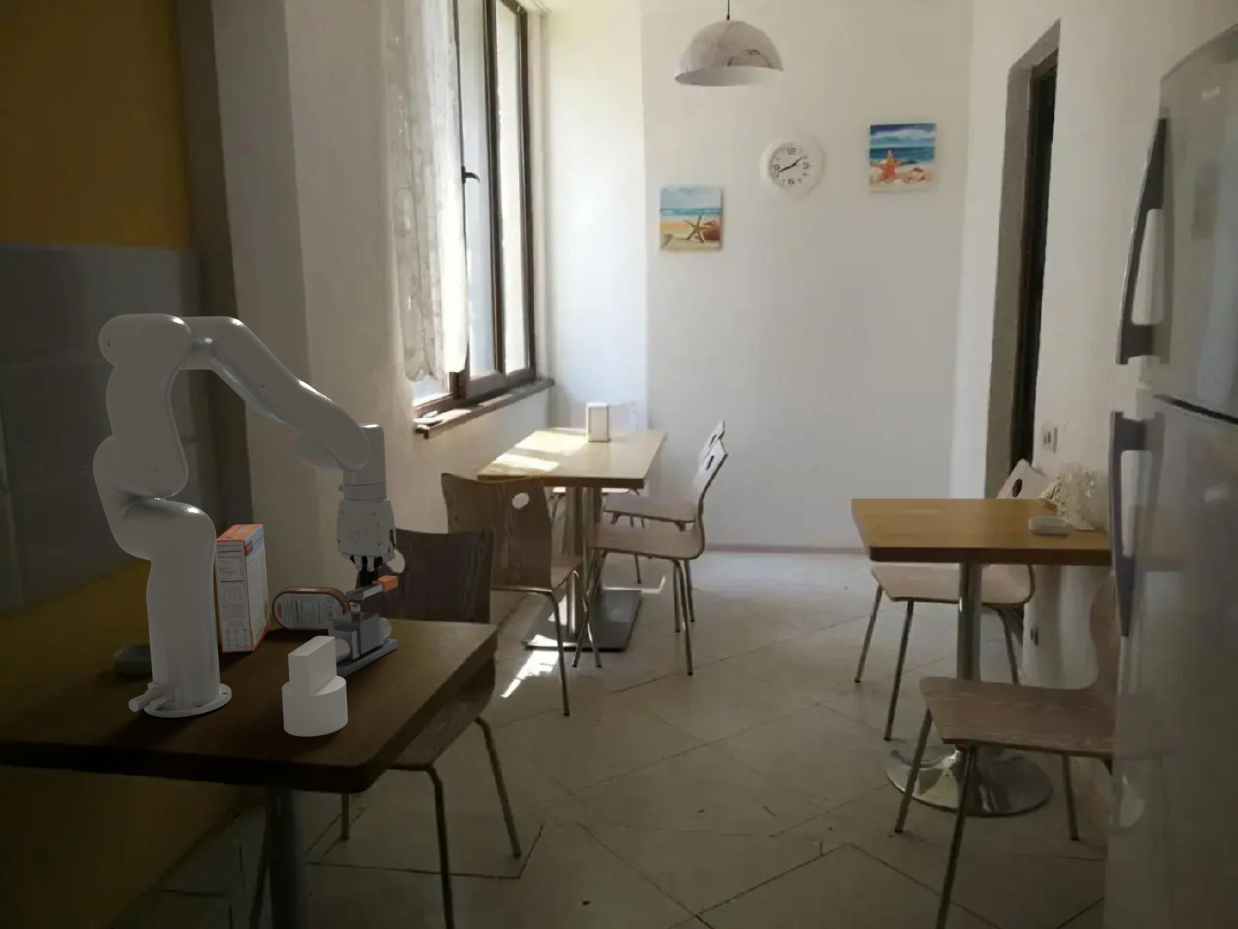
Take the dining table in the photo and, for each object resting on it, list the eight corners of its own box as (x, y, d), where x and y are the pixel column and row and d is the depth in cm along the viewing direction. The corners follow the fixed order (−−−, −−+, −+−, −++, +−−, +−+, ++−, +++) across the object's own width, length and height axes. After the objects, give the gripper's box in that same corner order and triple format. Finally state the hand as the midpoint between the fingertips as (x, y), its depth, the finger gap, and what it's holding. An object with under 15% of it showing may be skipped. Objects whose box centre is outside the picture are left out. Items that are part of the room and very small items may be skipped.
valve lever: (356, 604, 173) (356, 594, 173) (342, 602, 175) (342, 592, 174) (398, 586, 185) (398, 576, 185) (385, 584, 186) (384, 575, 186)
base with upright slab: (330, 738, 144) (326, 657, 142) (272, 734, 145) (267, 654, 144) (358, 714, 153) (354, 637, 151) (302, 710, 154) (298, 634, 152)
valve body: (344, 677, 168) (341, 618, 167) (314, 672, 171) (311, 615, 169) (398, 647, 183) (395, 594, 182) (369, 644, 185) (367, 591, 184)
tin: (352, 628, 195) (350, 585, 194) (346, 633, 192) (344, 590, 191) (277, 626, 197) (275, 584, 196) (270, 631, 194) (268, 588, 193)
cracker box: (239, 630, 194) (232, 524, 191) (271, 629, 195) (265, 523, 192) (218, 654, 181) (211, 539, 178) (253, 652, 181) (246, 538, 178)
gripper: (317, 493, 181) (322, 593, 184) (390, 497, 176) (394, 599, 179) (341, 486, 188) (346, 582, 191) (412, 490, 183) (416, 588, 186)
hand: (369, 590), depth 185 cm, fingers closed
